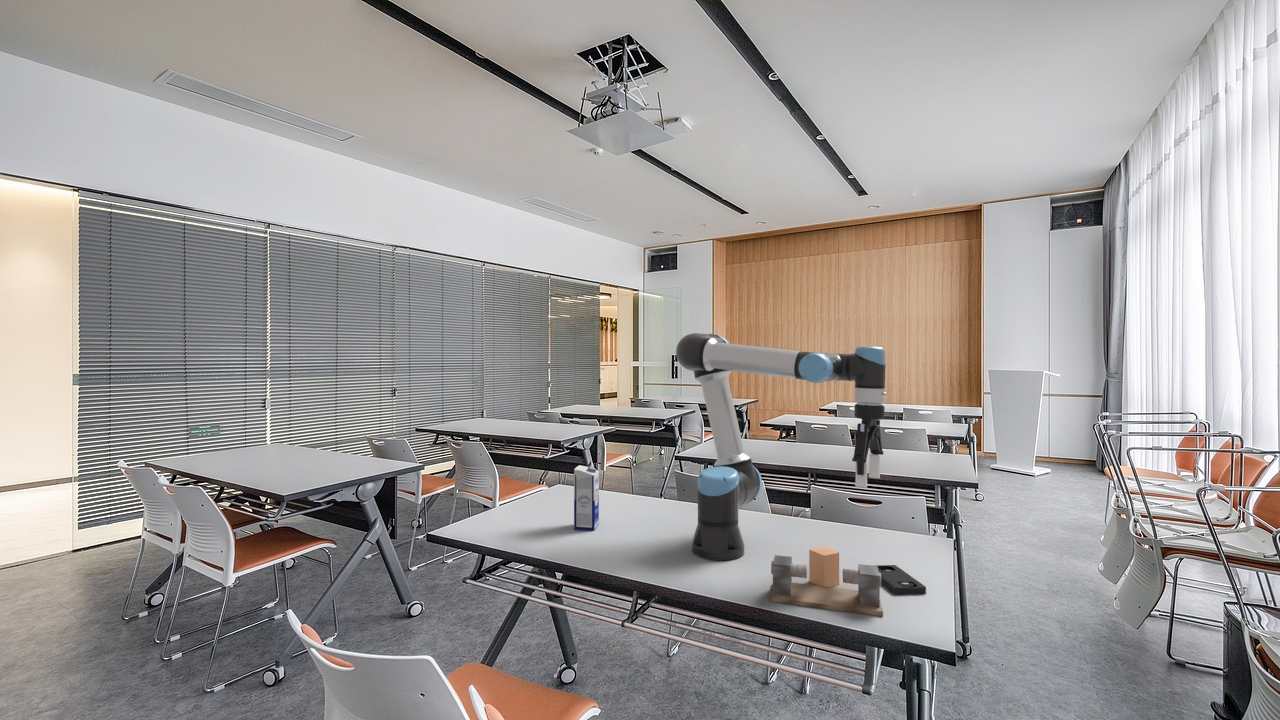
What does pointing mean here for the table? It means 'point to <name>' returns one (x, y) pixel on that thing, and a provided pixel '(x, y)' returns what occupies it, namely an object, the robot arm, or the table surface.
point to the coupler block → (824, 566)
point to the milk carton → (586, 498)
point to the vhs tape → (899, 581)
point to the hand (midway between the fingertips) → (867, 482)
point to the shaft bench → (827, 588)
